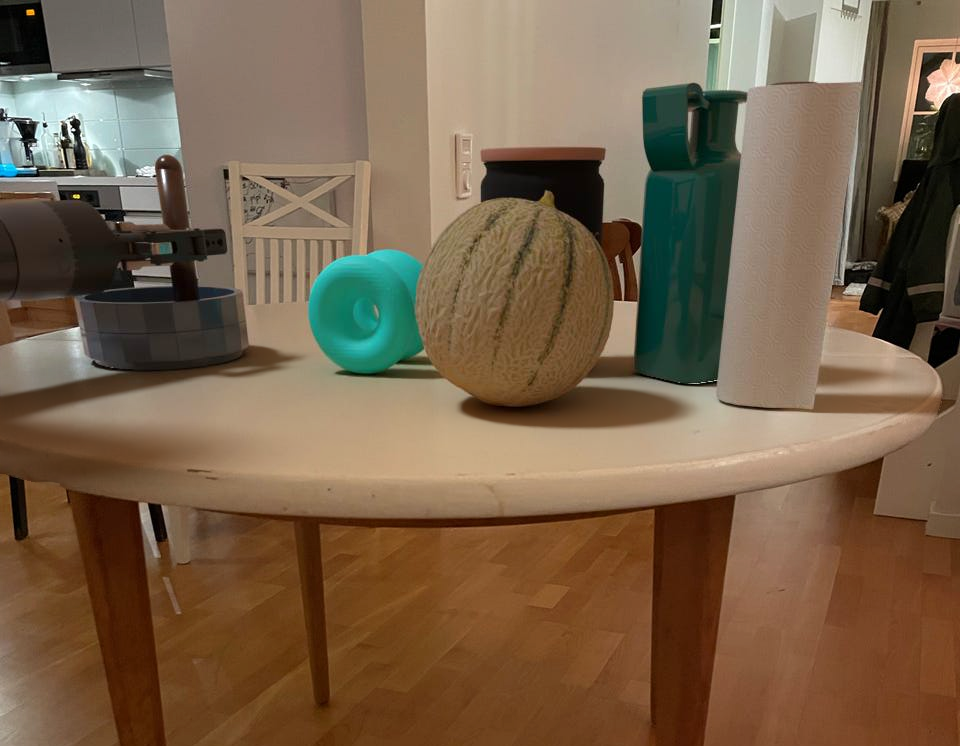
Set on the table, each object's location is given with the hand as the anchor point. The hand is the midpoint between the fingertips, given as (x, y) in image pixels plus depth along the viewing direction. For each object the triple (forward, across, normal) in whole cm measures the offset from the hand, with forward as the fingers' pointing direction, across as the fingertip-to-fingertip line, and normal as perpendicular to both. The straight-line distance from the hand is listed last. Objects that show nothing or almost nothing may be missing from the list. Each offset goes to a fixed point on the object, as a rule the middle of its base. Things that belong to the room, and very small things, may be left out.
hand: (195, 240), depth 89 cm
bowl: (-3, +2, +11) cm, 11 cm away
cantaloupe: (-4, -39, +11) cm, 40 cm away
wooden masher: (-2, 0, +10) cm, 10 cm away
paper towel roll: (+6, -55, +11) cm, 56 cm away
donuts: (+3, -19, +11) cm, 22 cm away
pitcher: (+14, -46, +11) cm, 49 cm away
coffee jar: (+11, -32, +11) cm, 36 cm away
